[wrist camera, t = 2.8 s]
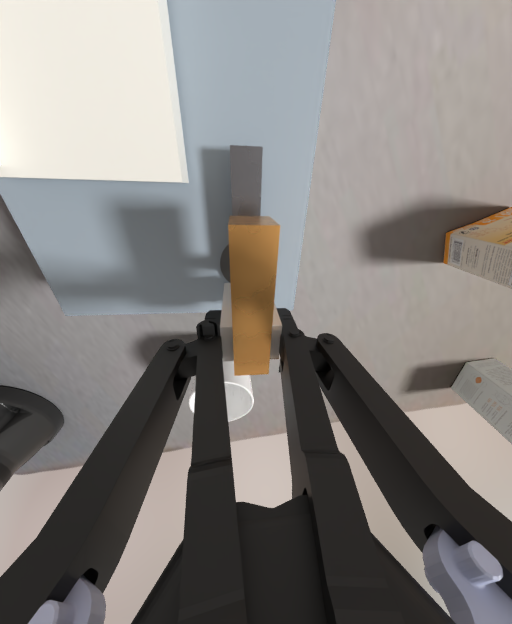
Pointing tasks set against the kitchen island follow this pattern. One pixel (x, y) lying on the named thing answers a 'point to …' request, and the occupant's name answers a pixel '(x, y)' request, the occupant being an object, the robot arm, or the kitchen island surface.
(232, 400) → the white cup
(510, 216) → the supplement box
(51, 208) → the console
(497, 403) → the small box
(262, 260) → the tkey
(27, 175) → the cover
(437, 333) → the kitchen island surface
